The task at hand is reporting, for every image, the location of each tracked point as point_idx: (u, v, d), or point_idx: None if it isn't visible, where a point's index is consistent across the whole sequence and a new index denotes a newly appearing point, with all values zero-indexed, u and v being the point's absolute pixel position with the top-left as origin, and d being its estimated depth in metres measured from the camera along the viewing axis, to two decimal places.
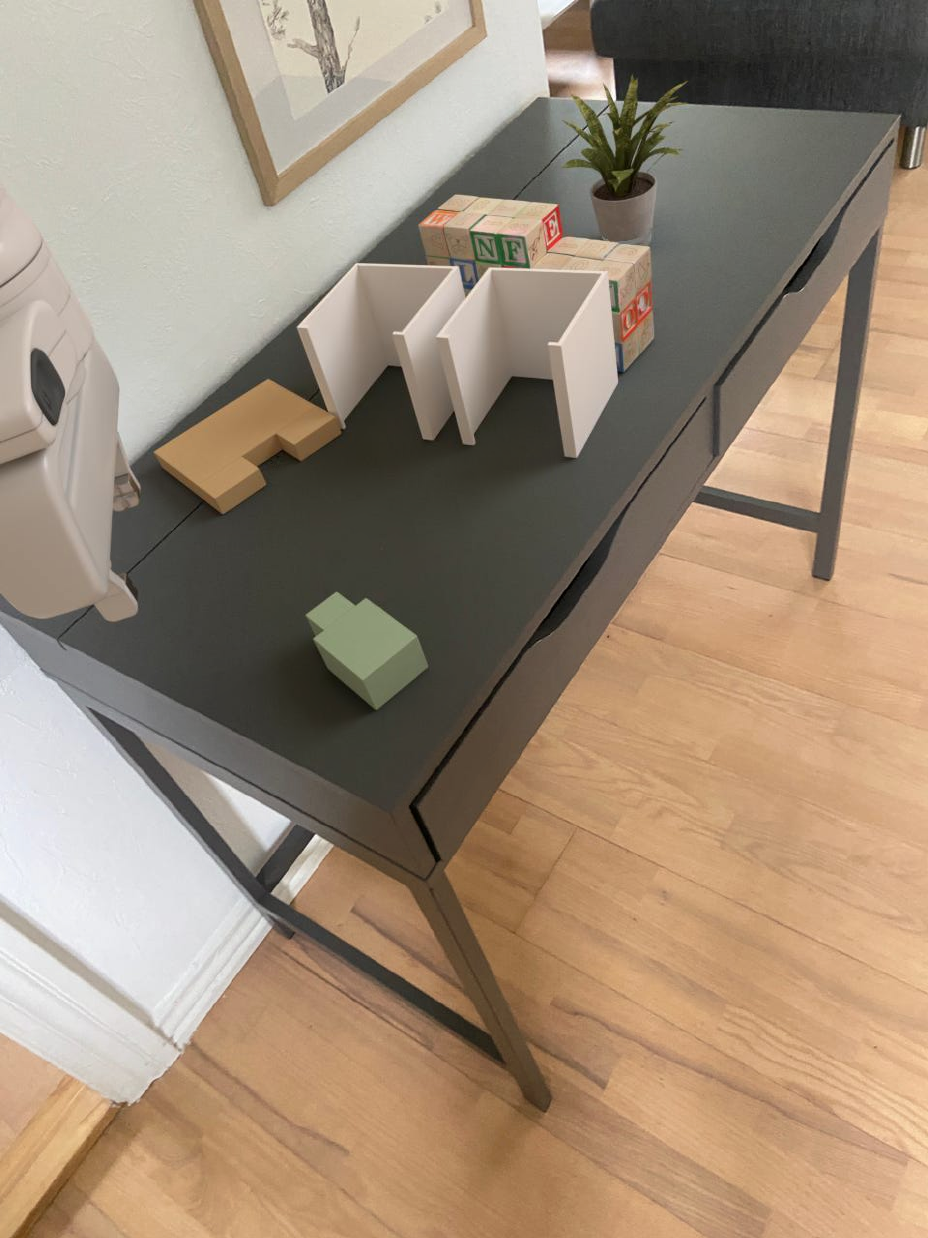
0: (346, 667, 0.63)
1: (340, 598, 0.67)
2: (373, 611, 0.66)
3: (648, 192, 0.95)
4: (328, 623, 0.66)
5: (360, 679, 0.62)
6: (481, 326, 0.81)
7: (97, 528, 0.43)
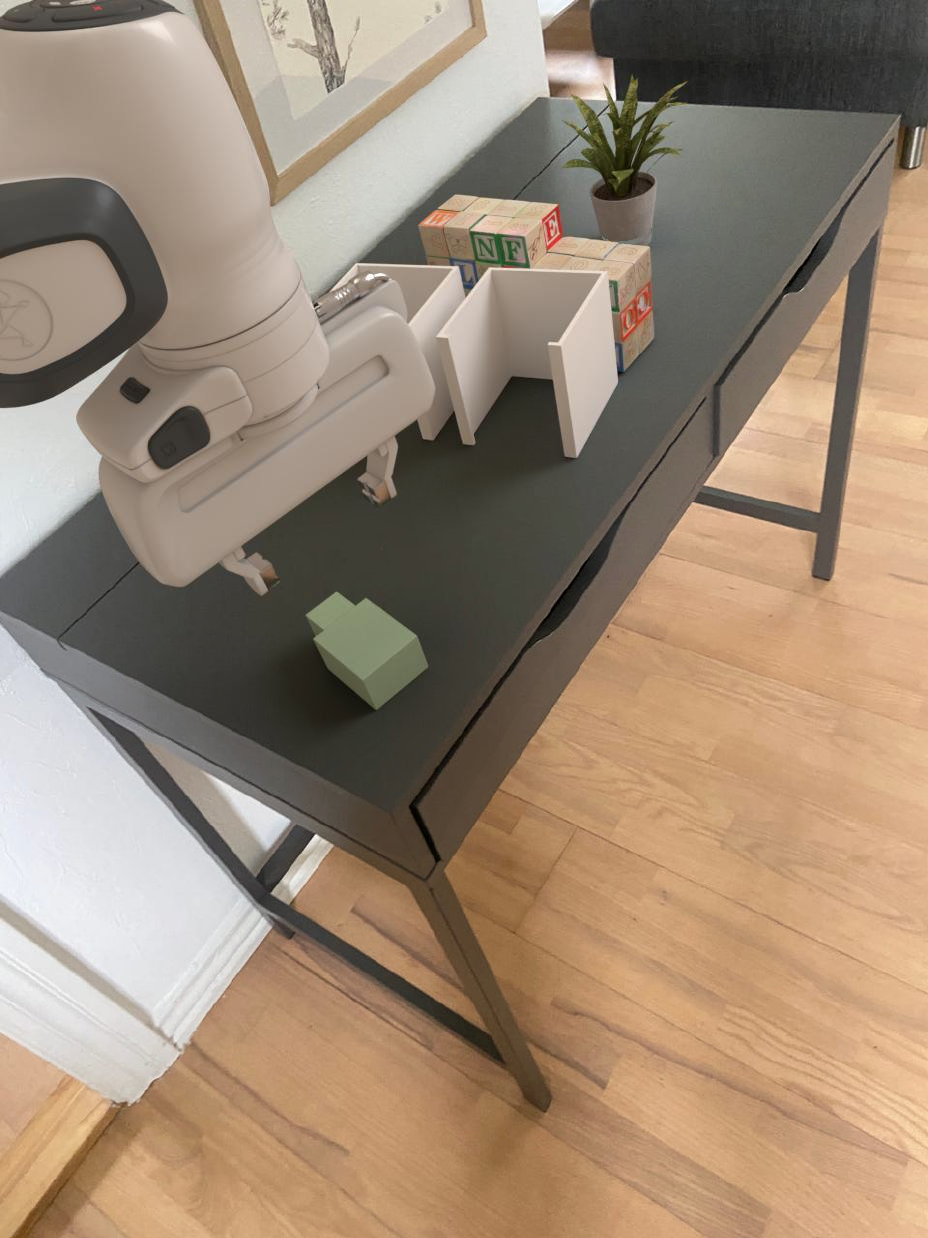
0: (346, 667, 0.63)
1: (340, 598, 0.67)
2: (373, 611, 0.66)
3: (648, 192, 0.95)
4: (328, 623, 0.66)
5: (360, 679, 0.62)
6: (481, 326, 0.81)
7: (218, 536, 0.50)
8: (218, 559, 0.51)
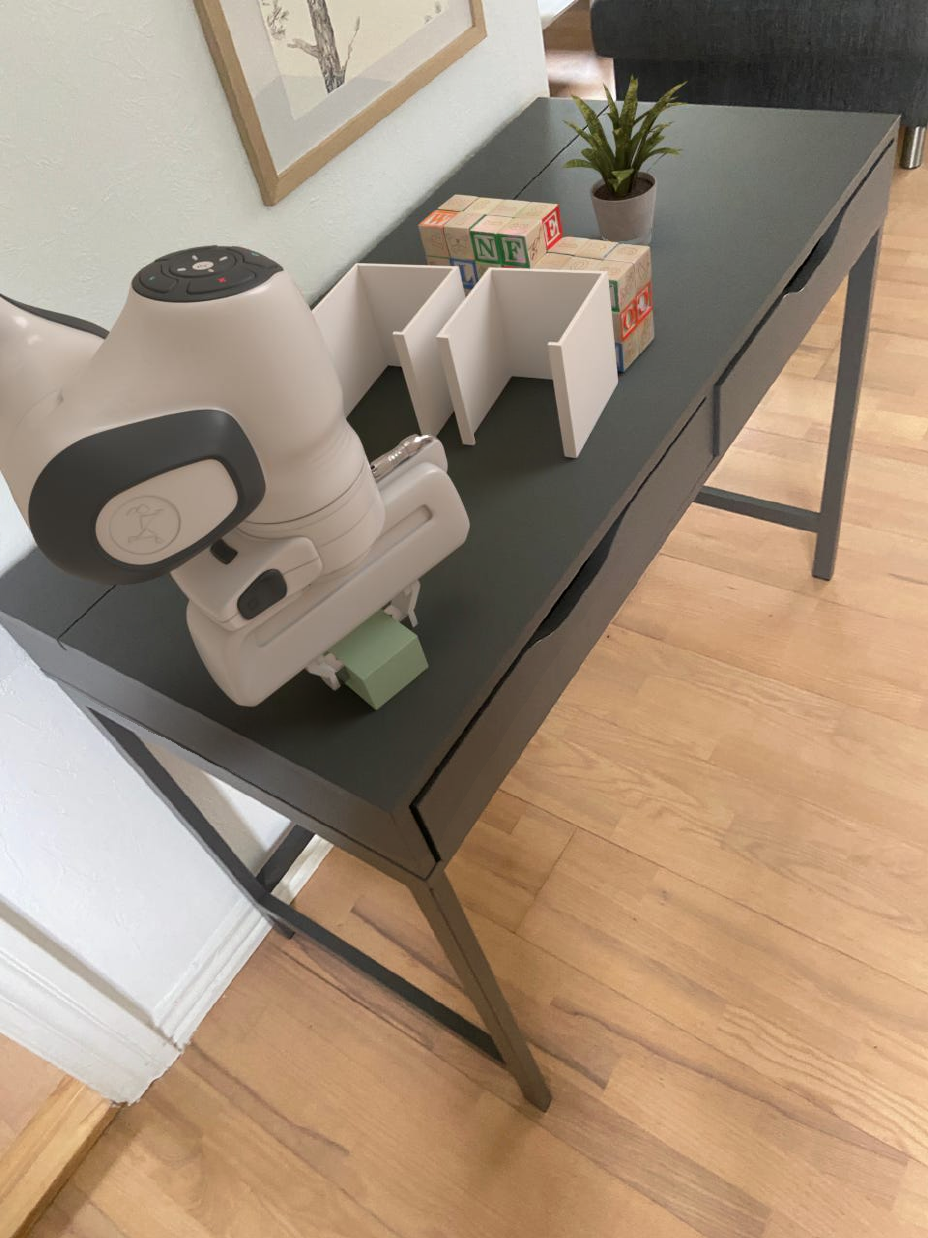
0: (346, 667, 0.63)
1: None
2: None
3: (648, 192, 0.95)
4: None
5: (360, 679, 0.62)
6: (481, 326, 0.81)
7: (286, 663, 0.58)
8: (284, 681, 0.59)
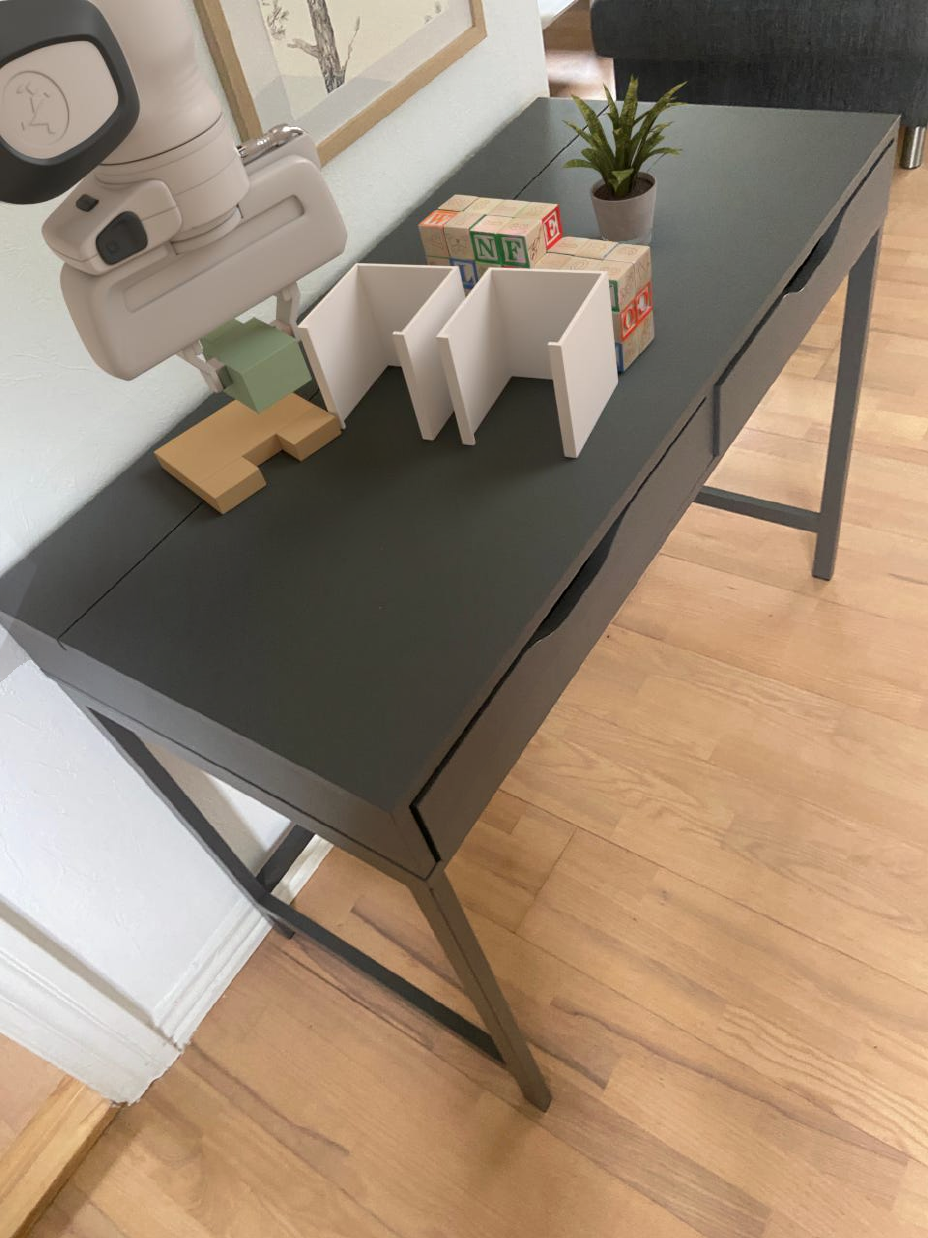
0: (227, 367, 0.66)
1: None
2: (259, 325, 0.69)
3: (648, 192, 0.95)
4: (216, 337, 0.69)
5: (239, 374, 0.65)
6: (481, 326, 0.81)
7: (159, 338, 0.61)
8: (159, 359, 0.62)
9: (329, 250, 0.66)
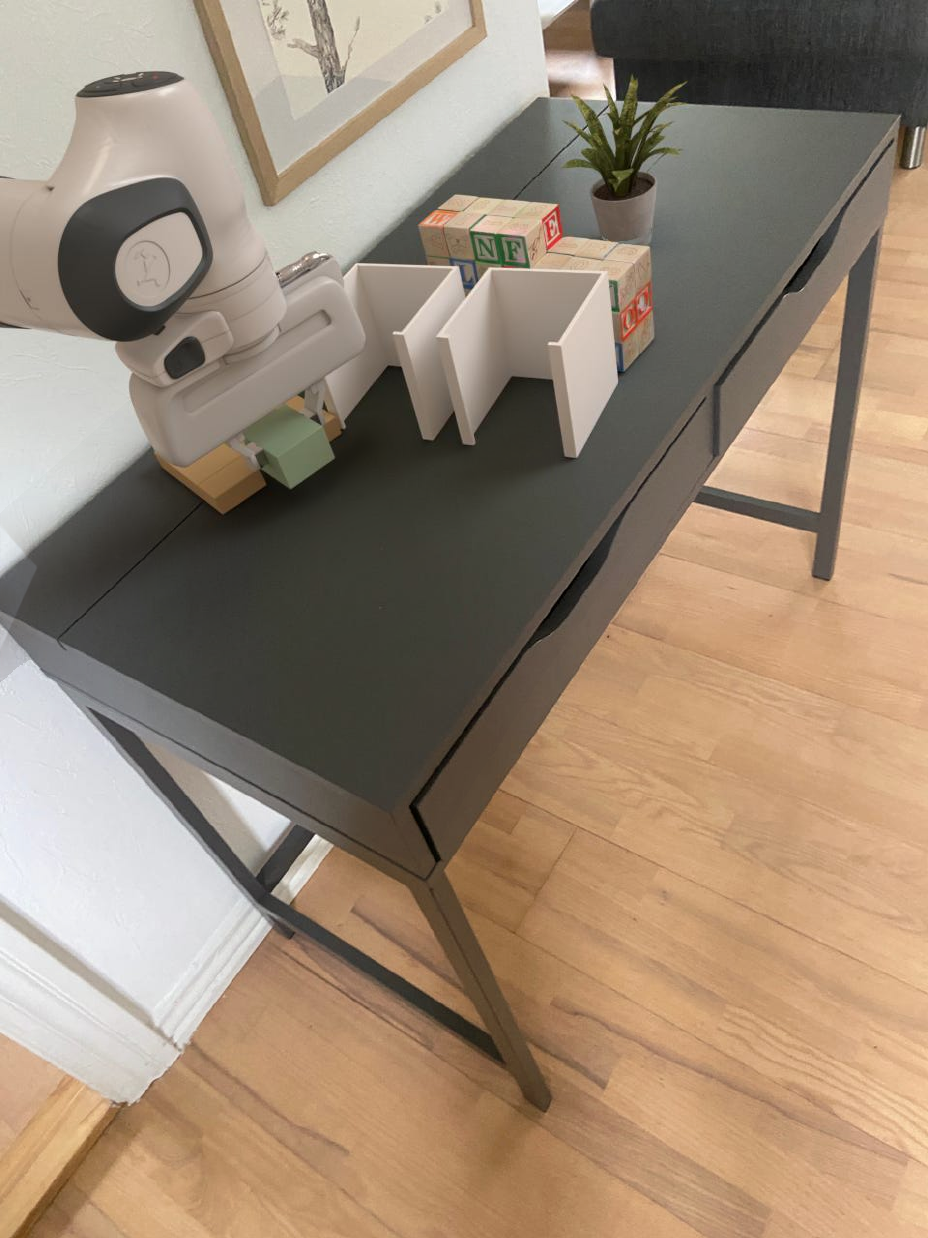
0: (264, 450, 0.77)
1: None
2: (289, 412, 0.80)
3: (648, 192, 0.95)
4: None
5: (275, 457, 0.77)
6: (481, 326, 0.81)
7: (210, 432, 0.72)
8: (210, 449, 0.73)
9: (350, 351, 0.78)
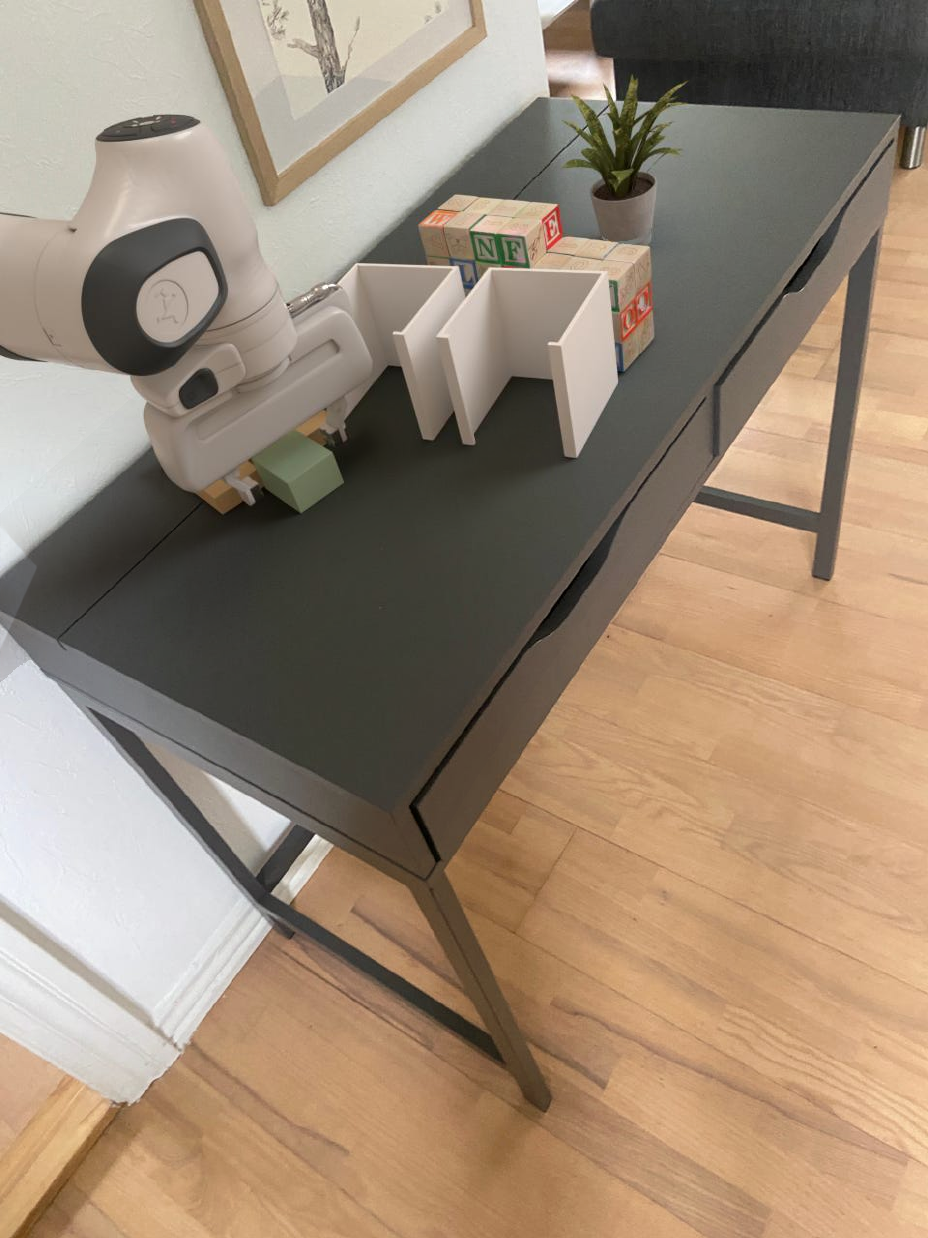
0: (276, 476, 0.80)
1: None
2: (300, 438, 0.82)
3: (648, 192, 0.95)
4: None
5: (286, 483, 0.79)
6: (481, 326, 0.81)
7: (222, 458, 0.74)
8: (222, 475, 0.75)
9: (358, 378, 0.80)
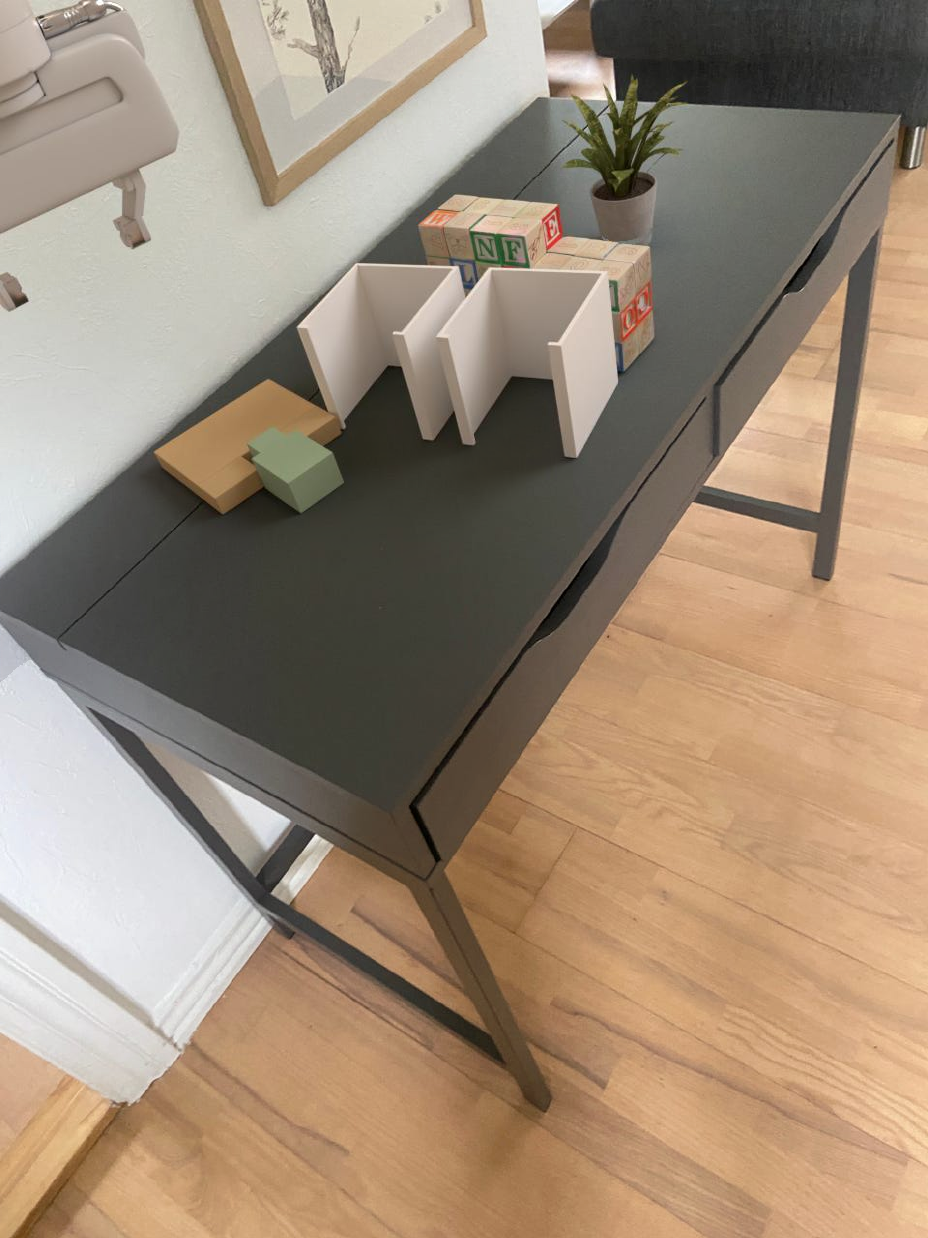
0: (276, 476, 0.79)
1: (275, 430, 0.84)
2: (300, 438, 0.82)
3: (648, 192, 0.95)
4: (264, 447, 0.83)
5: (286, 483, 0.79)
6: (481, 326, 0.81)
7: None
8: None
9: (156, 146, 0.60)
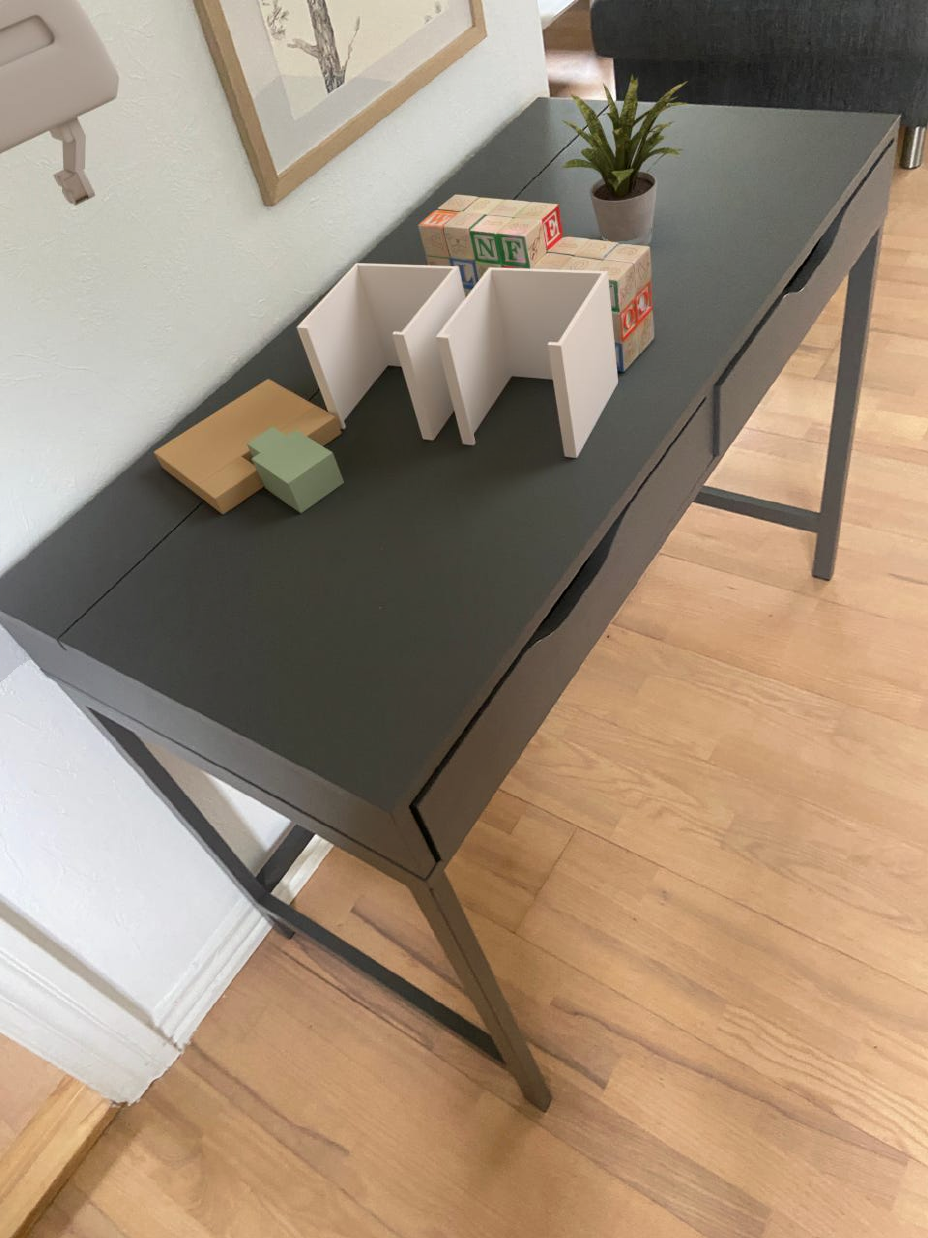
0: (276, 476, 0.79)
1: (275, 430, 0.84)
2: (300, 438, 0.82)
3: (648, 192, 0.95)
4: (264, 447, 0.83)
5: (286, 483, 0.79)
6: (481, 326, 0.81)
7: None
8: None
9: (95, 92, 0.56)
